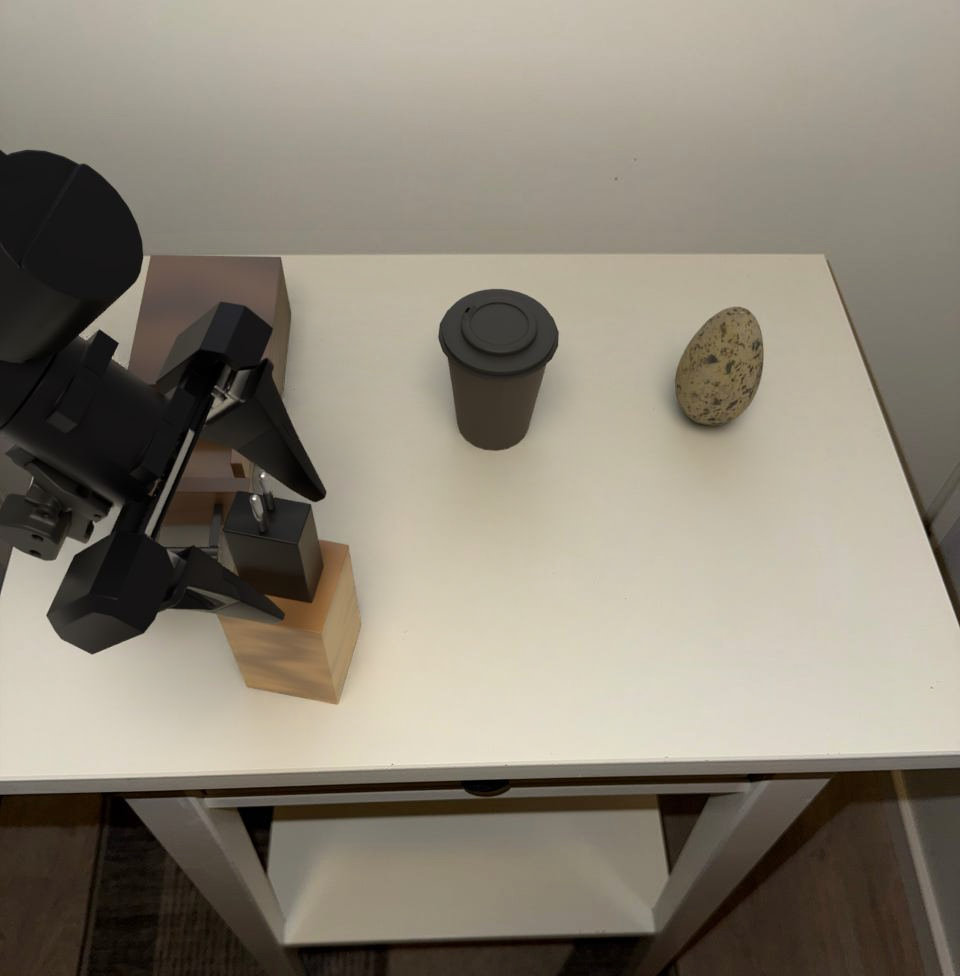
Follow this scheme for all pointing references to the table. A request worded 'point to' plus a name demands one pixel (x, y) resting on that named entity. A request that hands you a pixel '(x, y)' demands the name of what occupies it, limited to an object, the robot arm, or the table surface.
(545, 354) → the coffee cup
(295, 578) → the black wall charger
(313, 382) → the table surface
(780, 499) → the table surface
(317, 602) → the pedestal
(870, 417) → the table surface
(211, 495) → the drawer
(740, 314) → the decorative egg
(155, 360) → the cabinet
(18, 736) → the table surface
